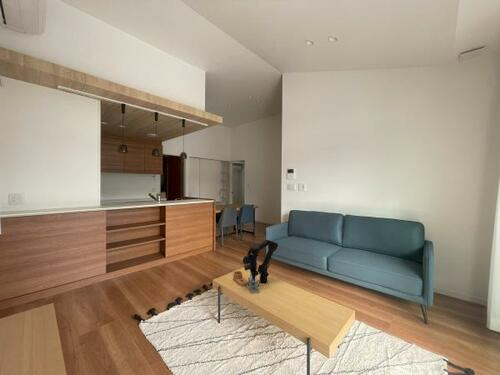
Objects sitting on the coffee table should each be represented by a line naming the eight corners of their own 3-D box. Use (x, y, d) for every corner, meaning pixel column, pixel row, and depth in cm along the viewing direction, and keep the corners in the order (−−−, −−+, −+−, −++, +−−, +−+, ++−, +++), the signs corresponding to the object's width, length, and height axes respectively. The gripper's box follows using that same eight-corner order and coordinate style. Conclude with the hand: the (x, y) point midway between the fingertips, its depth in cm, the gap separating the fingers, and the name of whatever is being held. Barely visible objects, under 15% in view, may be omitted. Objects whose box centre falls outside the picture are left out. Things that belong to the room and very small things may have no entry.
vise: (256, 282, 196) (256, 276, 196) (258, 287, 186) (258, 281, 186) (247, 282, 195) (248, 276, 195) (249, 287, 185) (249, 281, 185)
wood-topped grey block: (255, 283, 191) (256, 274, 191) (256, 285, 188) (256, 275, 188) (249, 283, 191) (249, 274, 190) (250, 285, 188) (250, 275, 187)
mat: (258, 289, 184) (258, 288, 184) (260, 294, 176) (260, 293, 176) (249, 289, 183) (249, 288, 183) (250, 294, 175) (250, 293, 175)
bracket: (232, 278, 202) (232, 271, 201) (239, 277, 206) (239, 270, 206) (240, 287, 186) (240, 279, 186) (248, 285, 190) (249, 277, 190)
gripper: (243, 257, 197) (243, 274, 197) (245, 266, 178) (245, 284, 179) (255, 257, 198) (254, 273, 199) (258, 265, 180) (258, 283, 180)
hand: (253, 278), depth 189 cm, fingers closed on wood-topped grey block, 3 cm apart
